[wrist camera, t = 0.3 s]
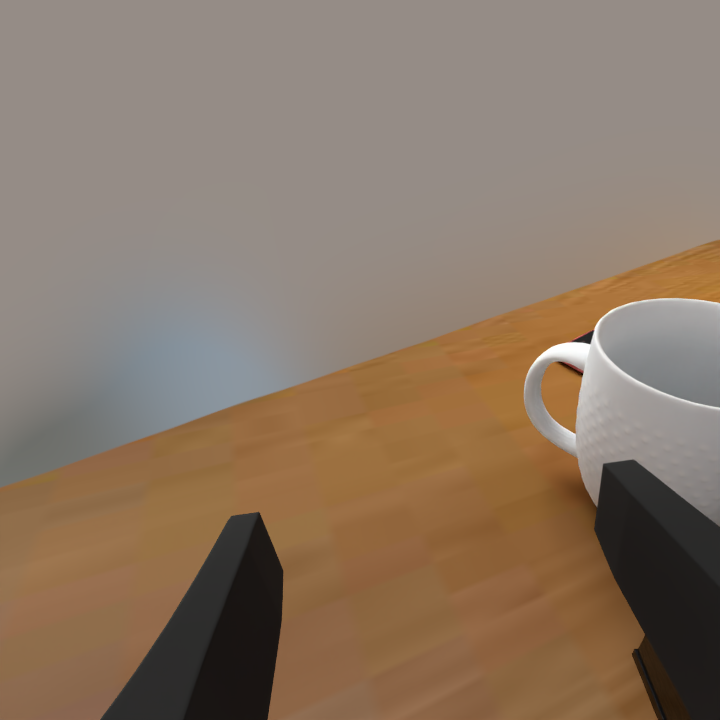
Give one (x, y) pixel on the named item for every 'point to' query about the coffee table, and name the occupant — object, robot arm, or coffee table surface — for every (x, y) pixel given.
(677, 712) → the slide housing
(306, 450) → the coffee table surface
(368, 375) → the coffee table surface
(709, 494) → the mug
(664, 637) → the robot arm
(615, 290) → the coffee table surface
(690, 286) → the coffee table surface
